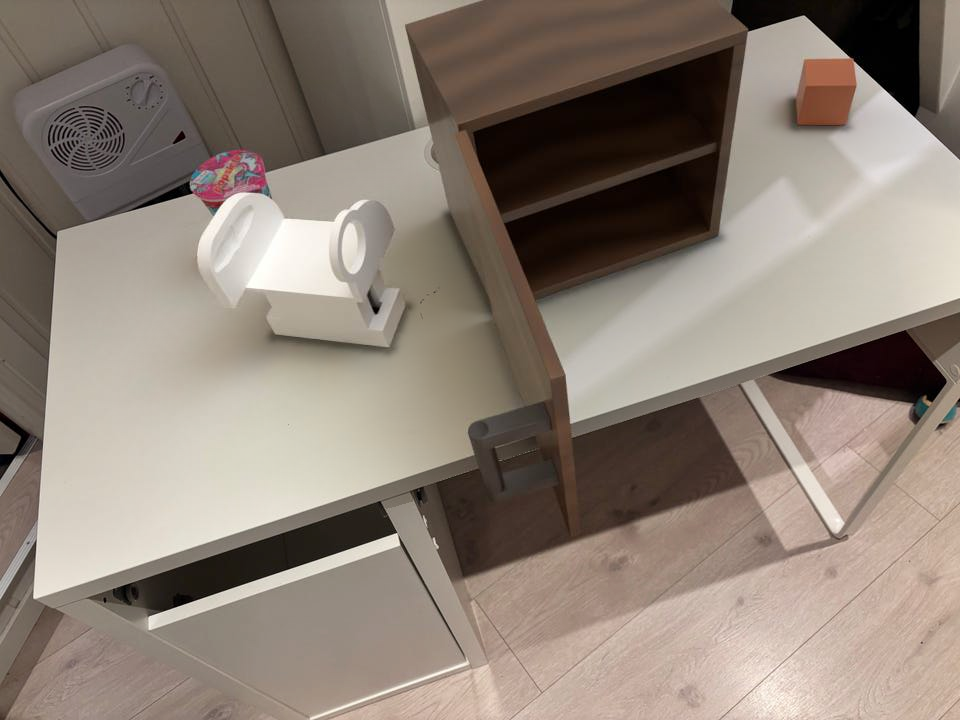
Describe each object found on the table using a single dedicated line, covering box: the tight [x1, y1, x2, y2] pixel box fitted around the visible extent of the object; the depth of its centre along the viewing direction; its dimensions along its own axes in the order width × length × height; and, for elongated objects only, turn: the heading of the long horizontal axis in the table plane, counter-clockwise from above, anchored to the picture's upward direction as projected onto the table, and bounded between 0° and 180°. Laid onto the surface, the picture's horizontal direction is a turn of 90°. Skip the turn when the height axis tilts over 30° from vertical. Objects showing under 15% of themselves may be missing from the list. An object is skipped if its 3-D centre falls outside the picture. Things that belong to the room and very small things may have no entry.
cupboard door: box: [455, 130, 582, 539], centre depth 63 cm, size 7×26×24 cm, turn 14°
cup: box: [189, 149, 274, 217], centre depth 88 cm, size 9×8×12 cm
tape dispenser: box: [196, 192, 406, 348], centre depth 76 cm, size 14×13×18 cm
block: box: [795, 57, 858, 126], centre depth 90 cm, size 6×6×6 cm
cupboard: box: [404, 0, 749, 300], centre depth 77 cm, size 18×26×24 cm
